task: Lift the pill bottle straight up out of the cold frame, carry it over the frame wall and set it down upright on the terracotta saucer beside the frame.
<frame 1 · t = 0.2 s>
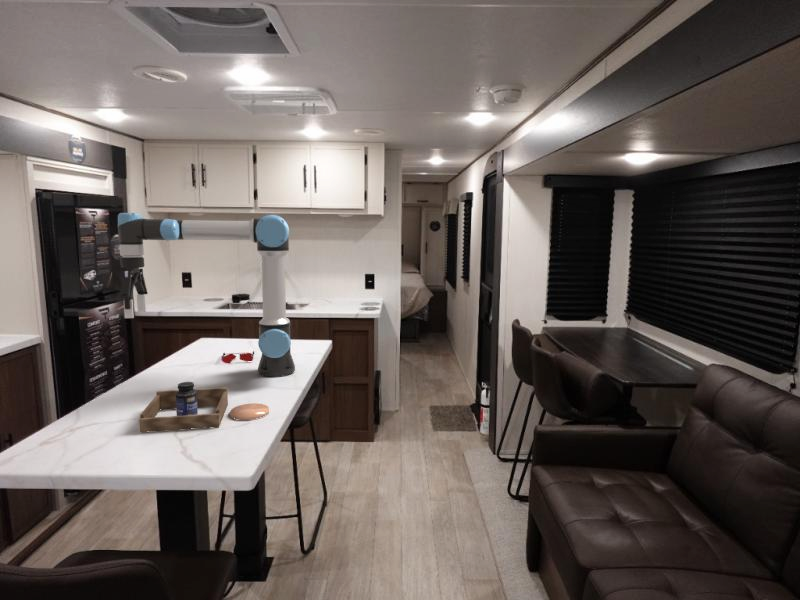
hand: (135, 314, 178), 28 cm above the table, tool pointing down, fingers open, 13 cm apart
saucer: (249, 413, 158), on the table
pill bottle: (187, 418, 154), resting in cold frame
glasses: (238, 360, 226), on the table
cold frame: (187, 417, 154), on the table
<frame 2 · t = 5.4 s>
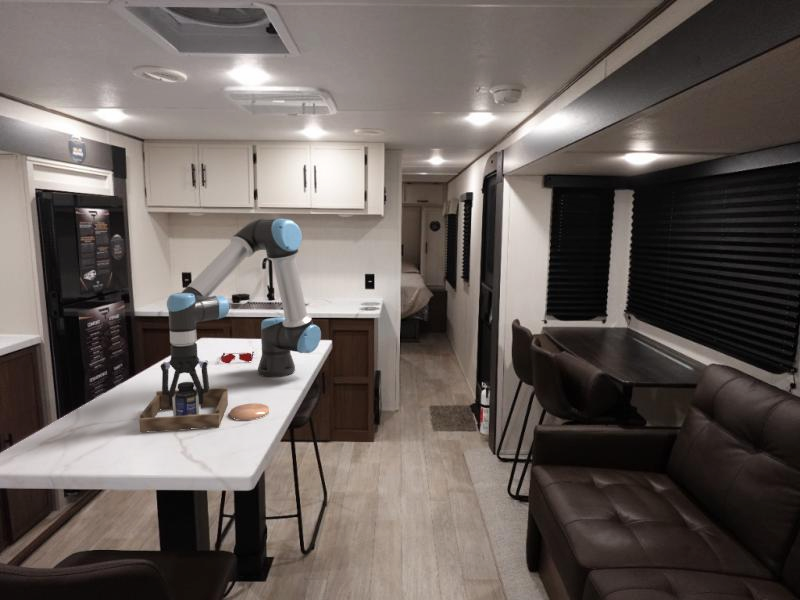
hand: (187, 414, 154), 1 cm above the table, tool pointing down, fingers closed on pill bottle, 6 cm apart
pill bottle: (187, 418, 154), resting in cold frame, touching gripper
everything else where it was.
when the fingers open (4 cm above the table, at t = 11.7 s): pill bottle drops 1 cm, resting on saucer.
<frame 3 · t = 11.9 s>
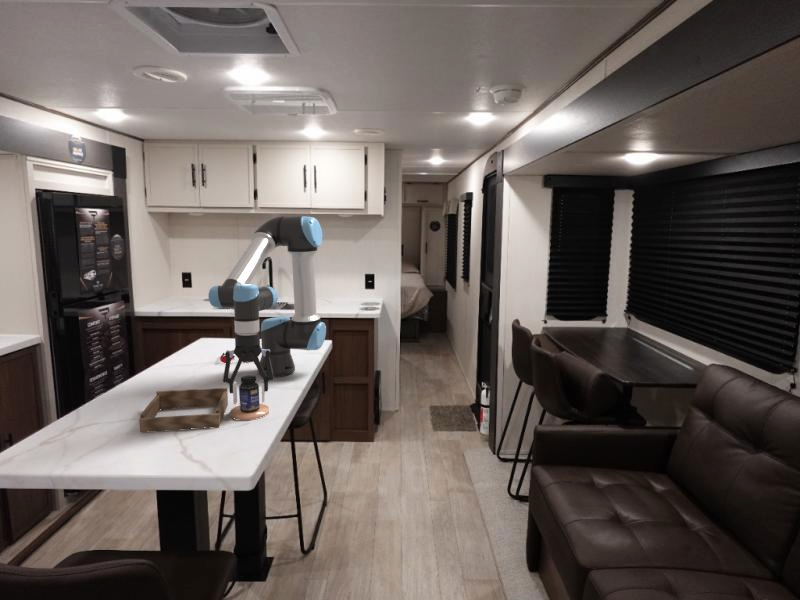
hand: (249, 401, 158), 4 cm above the table, tool pointing down, fingers open, 8 cm apart
pill bottle: (249, 410, 158), point 1 cm above the table, touching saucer
everything else where it was.
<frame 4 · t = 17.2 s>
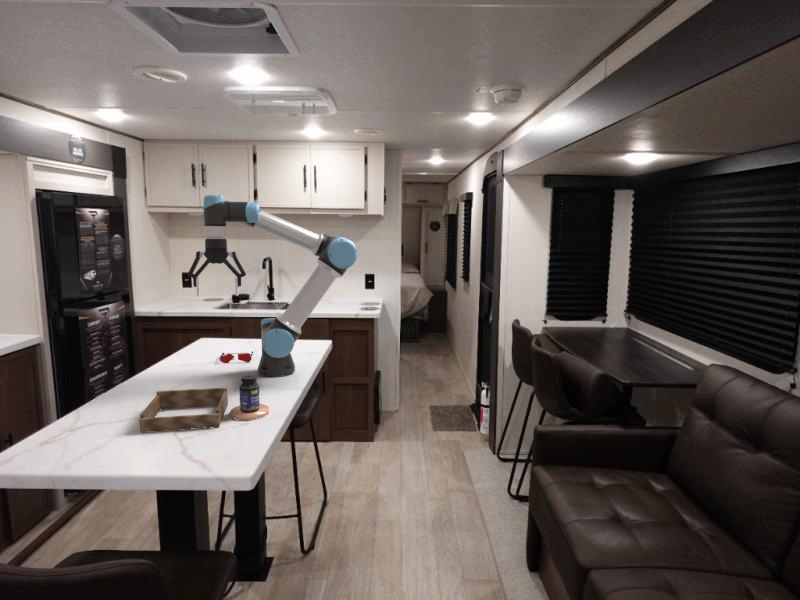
hand: (218, 295, 182), 35 cm above the table, tool pointing down, fingers open, 13 cm apart
nothing on the table moved.
at the end: pill bottle 0.1 cm from the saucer (horizontally); pill bottle tilted 0°; the gripper is holding nothing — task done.
